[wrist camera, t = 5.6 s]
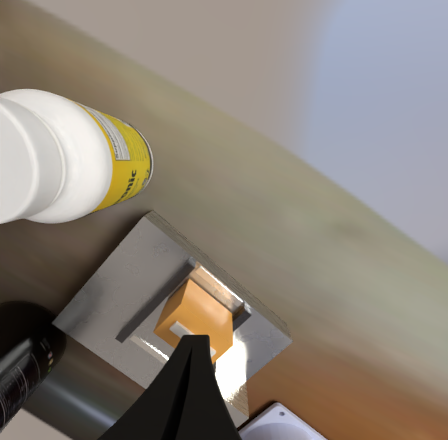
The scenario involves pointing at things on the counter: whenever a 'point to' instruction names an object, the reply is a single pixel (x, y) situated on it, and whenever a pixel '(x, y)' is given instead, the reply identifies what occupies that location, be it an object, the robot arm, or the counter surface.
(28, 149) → the supplement bottle
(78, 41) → the counter surface
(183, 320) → the orange cuboid
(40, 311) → the supplement bottle
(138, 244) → the strip
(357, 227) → the counter surface
